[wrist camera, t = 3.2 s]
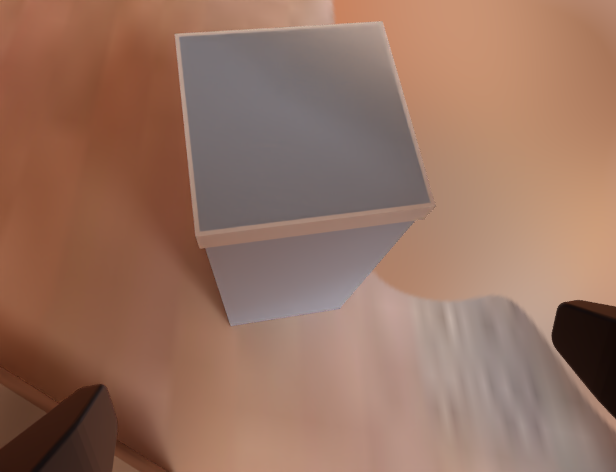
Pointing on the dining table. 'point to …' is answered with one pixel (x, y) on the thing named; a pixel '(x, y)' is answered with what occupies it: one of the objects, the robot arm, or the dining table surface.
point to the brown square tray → (34, 404)
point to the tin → (297, 162)
